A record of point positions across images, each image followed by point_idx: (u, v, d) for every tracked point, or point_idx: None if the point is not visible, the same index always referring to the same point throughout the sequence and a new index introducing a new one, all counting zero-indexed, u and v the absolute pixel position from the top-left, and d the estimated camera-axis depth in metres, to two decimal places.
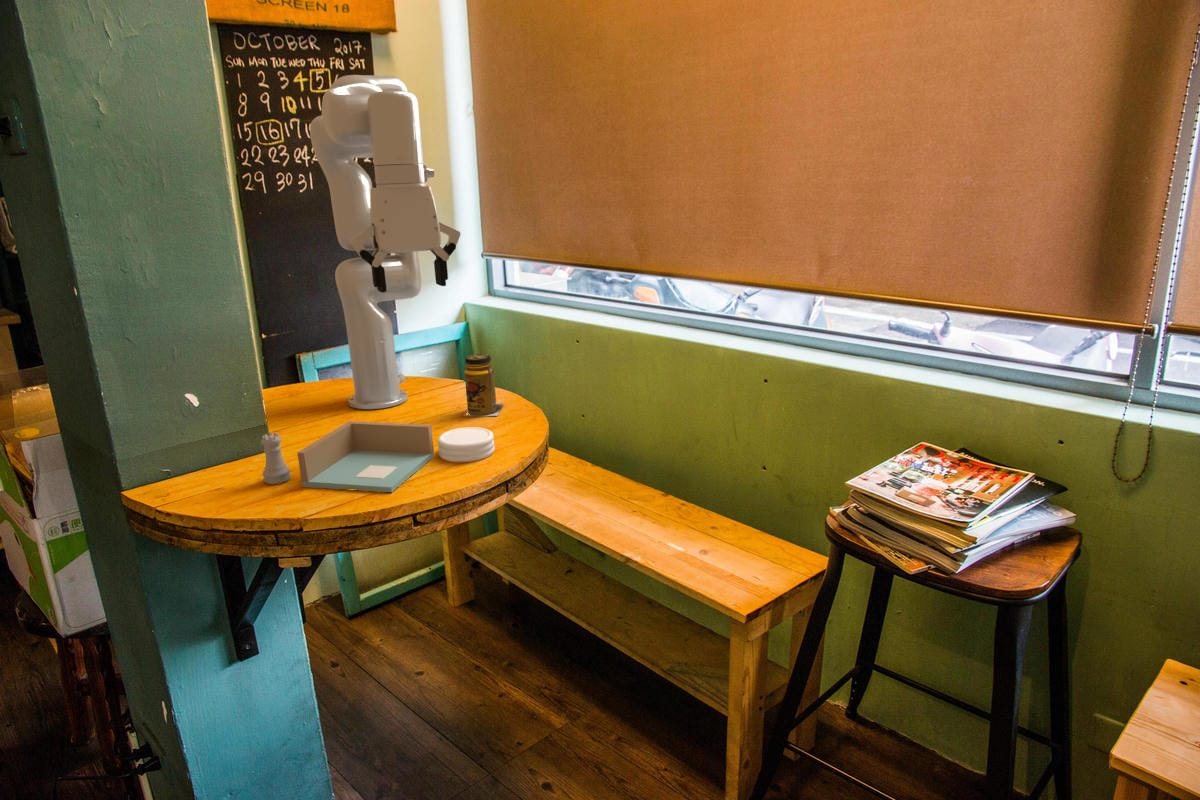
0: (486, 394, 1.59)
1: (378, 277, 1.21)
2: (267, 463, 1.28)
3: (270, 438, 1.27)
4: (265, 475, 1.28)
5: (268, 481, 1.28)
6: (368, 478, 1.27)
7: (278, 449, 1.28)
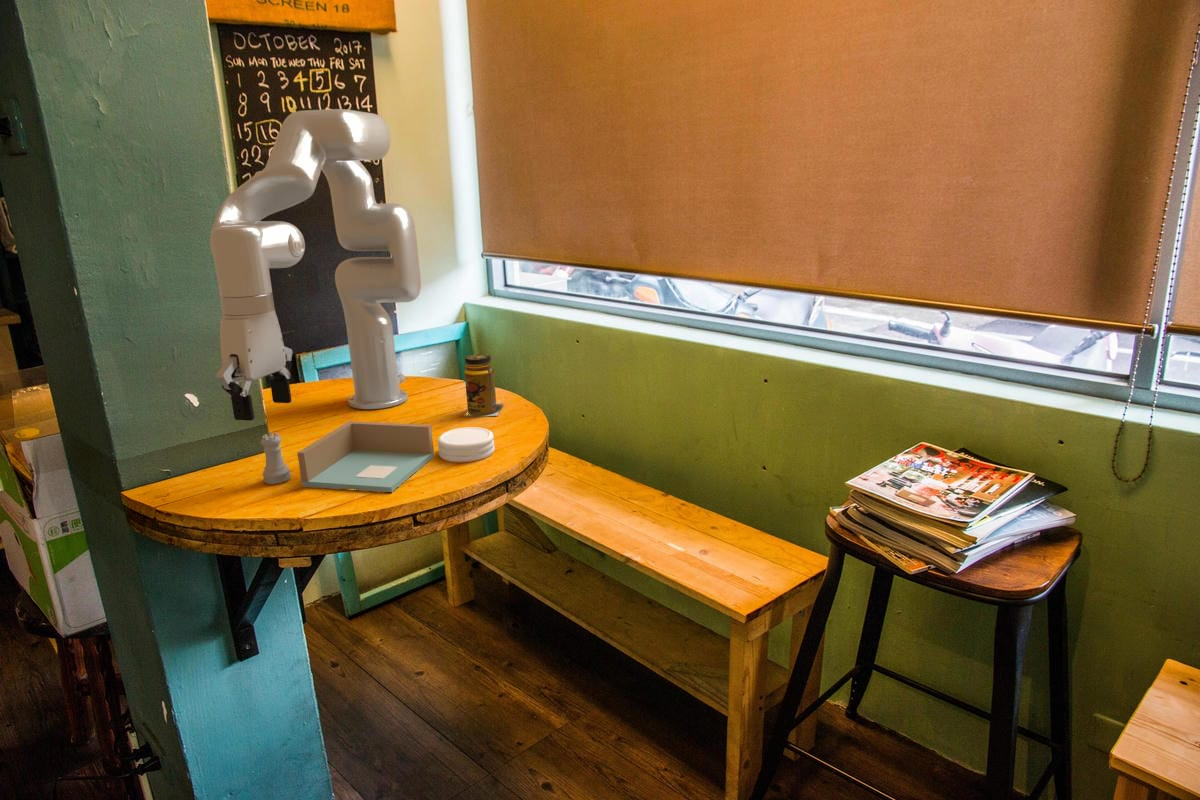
0: (486, 394, 1.59)
1: (245, 406, 1.20)
2: (267, 463, 1.28)
3: (270, 438, 1.27)
4: (265, 475, 1.28)
5: (268, 481, 1.28)
6: (368, 478, 1.27)
7: (278, 449, 1.28)
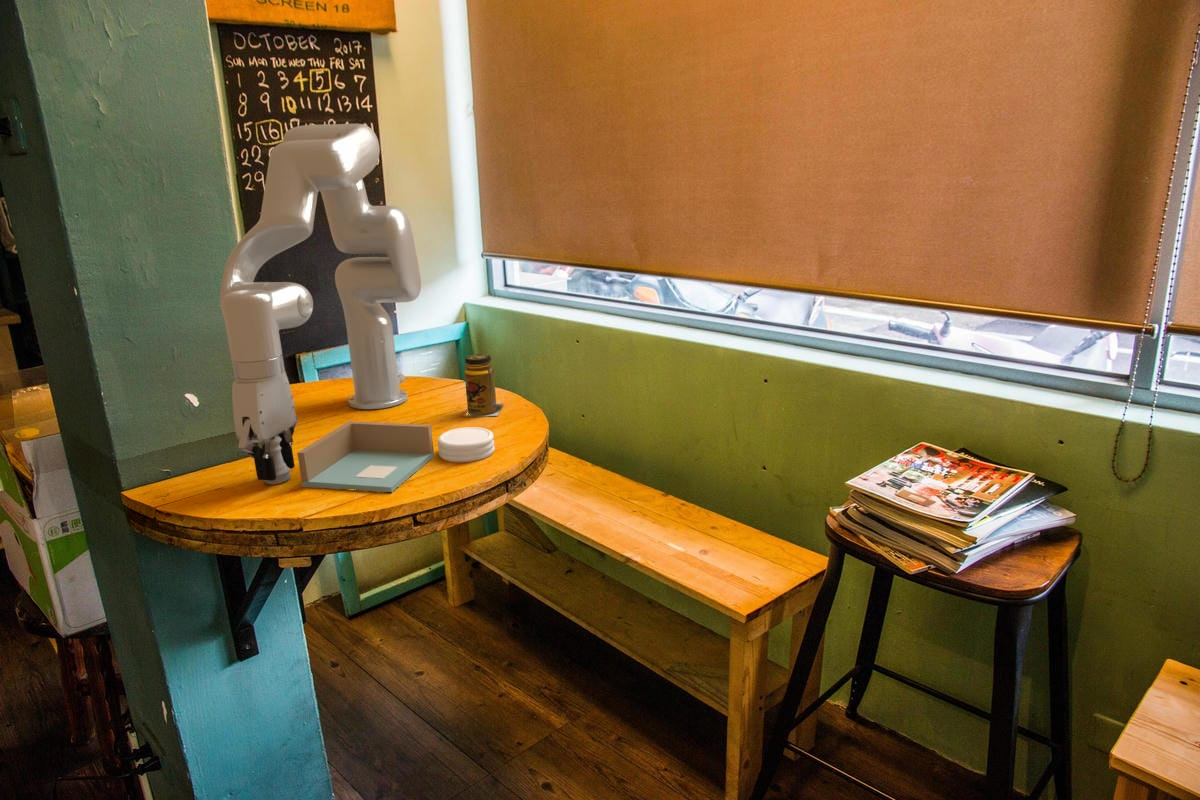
0: (486, 394, 1.59)
1: (267, 467, 1.26)
2: None
3: (270, 438, 1.27)
4: None
5: (268, 481, 1.28)
6: (368, 478, 1.27)
7: (278, 449, 1.28)
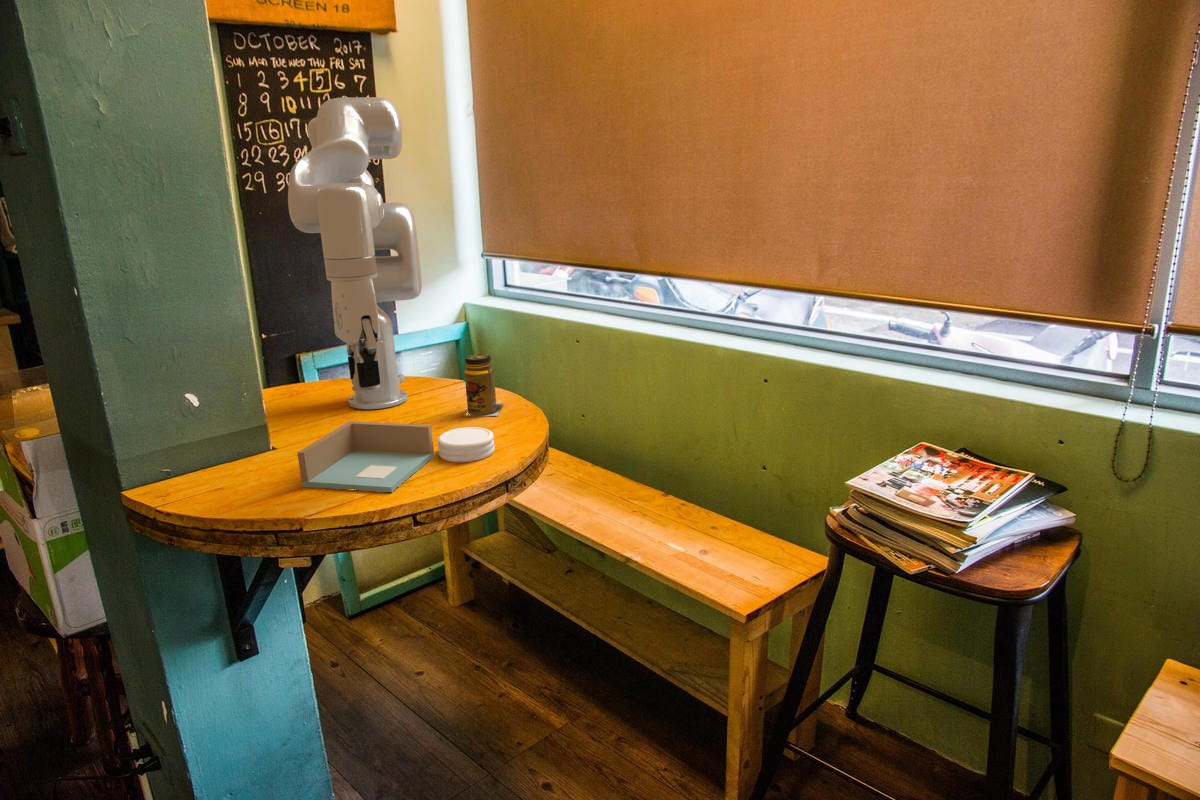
0: (486, 394, 1.59)
1: None
2: None
3: None
4: None
5: (368, 389, 1.23)
6: (368, 478, 1.27)
7: None
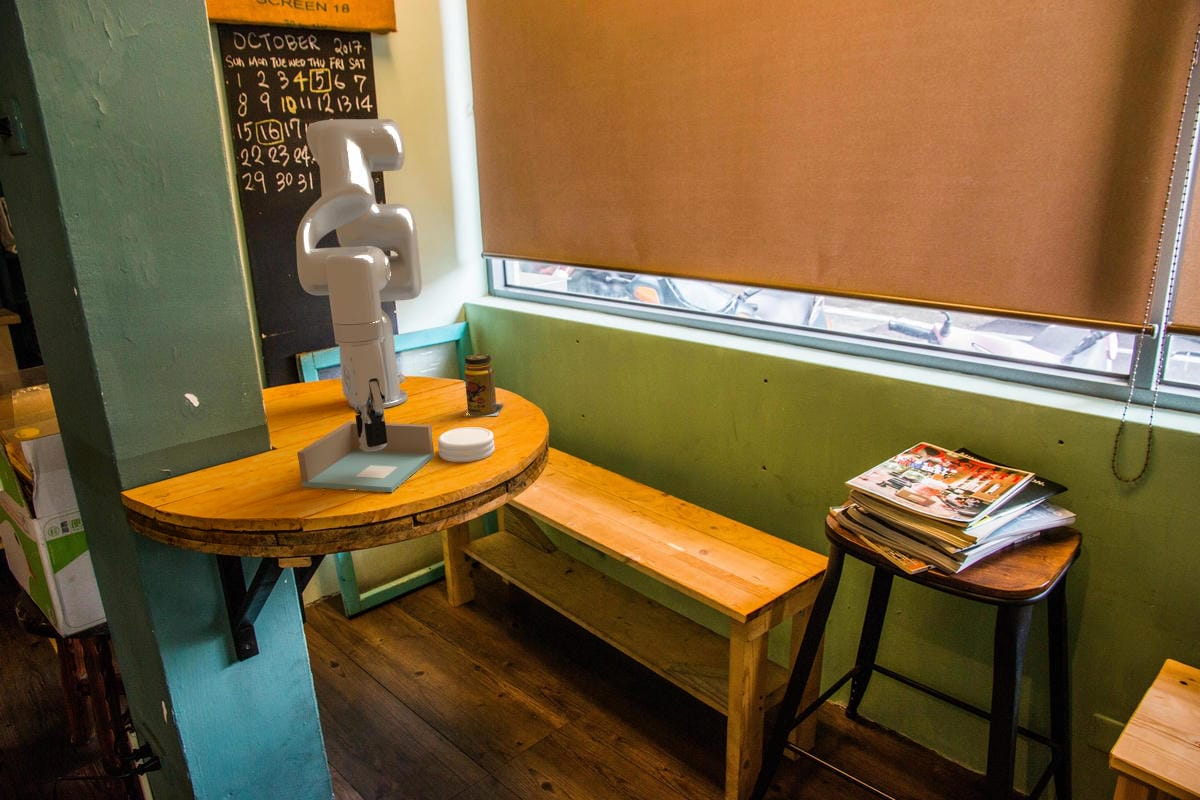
0: (486, 394, 1.59)
1: None
2: None
3: None
4: None
5: (375, 447, 1.26)
6: (368, 478, 1.27)
7: None
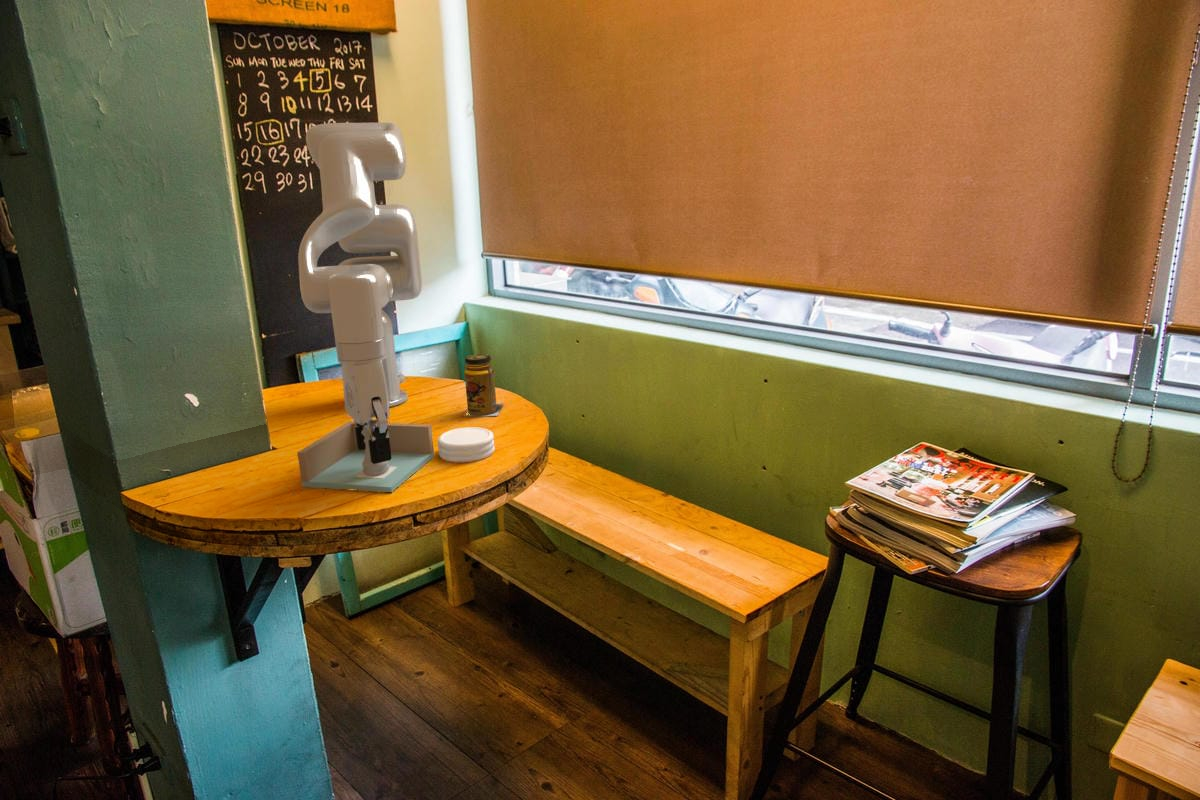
0: (486, 394, 1.59)
1: (385, 447, 1.25)
2: None
3: None
4: (374, 466, 1.27)
5: (378, 471, 1.28)
6: (368, 478, 1.27)
7: None
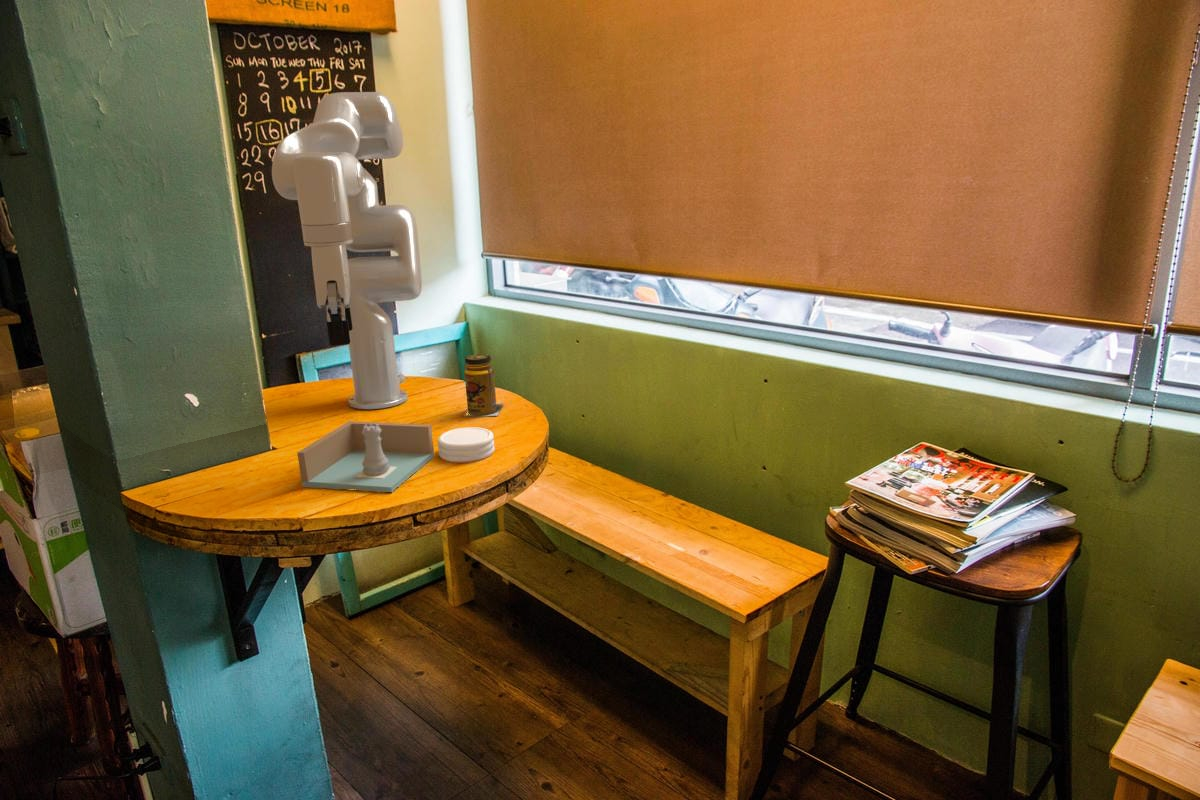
0: (486, 394, 1.59)
1: (343, 330, 1.25)
2: (373, 454, 1.28)
3: (377, 427, 1.27)
4: (375, 466, 1.27)
5: (378, 471, 1.28)
6: (368, 478, 1.27)
7: (380, 438, 1.29)
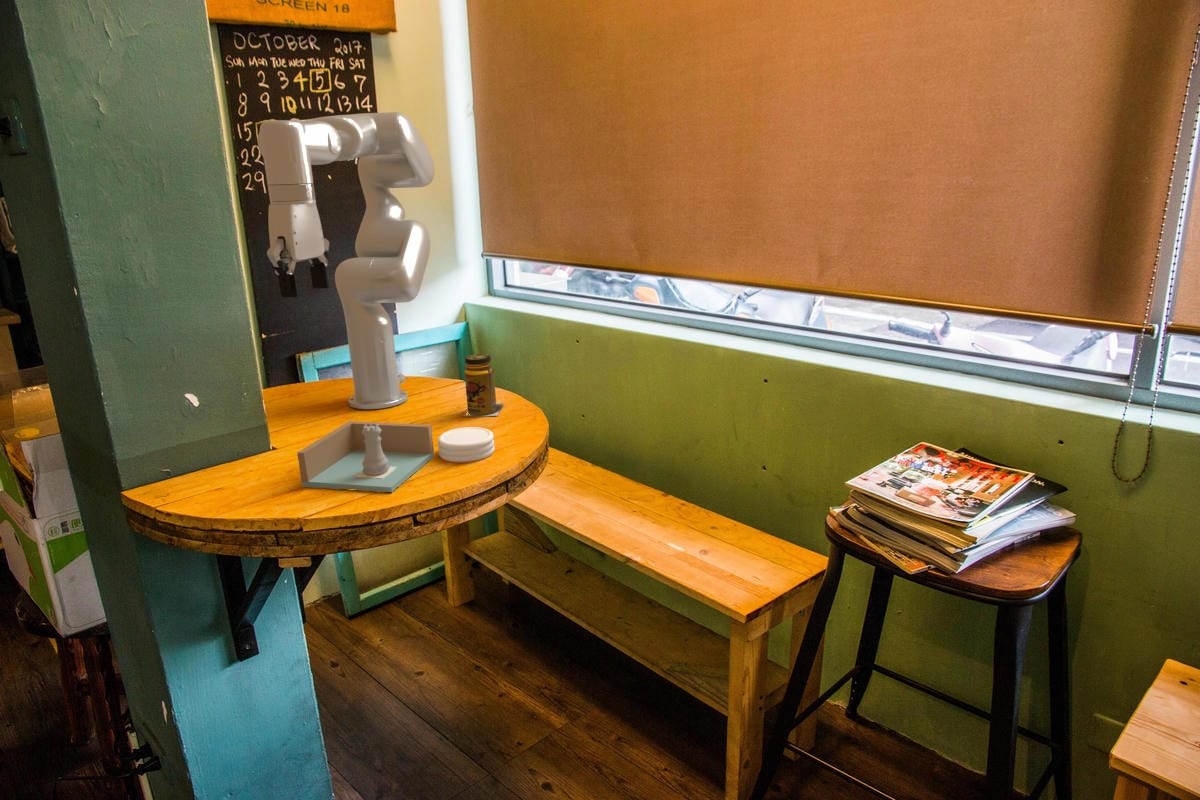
0: (486, 394, 1.59)
1: (290, 284, 1.35)
2: (373, 454, 1.28)
3: (377, 427, 1.27)
4: (374, 466, 1.27)
5: (378, 471, 1.28)
6: (368, 478, 1.27)
7: (380, 438, 1.29)
